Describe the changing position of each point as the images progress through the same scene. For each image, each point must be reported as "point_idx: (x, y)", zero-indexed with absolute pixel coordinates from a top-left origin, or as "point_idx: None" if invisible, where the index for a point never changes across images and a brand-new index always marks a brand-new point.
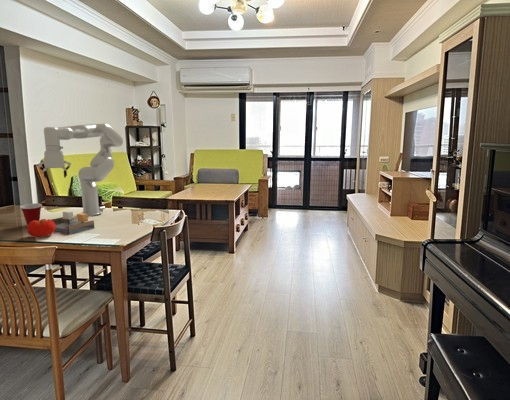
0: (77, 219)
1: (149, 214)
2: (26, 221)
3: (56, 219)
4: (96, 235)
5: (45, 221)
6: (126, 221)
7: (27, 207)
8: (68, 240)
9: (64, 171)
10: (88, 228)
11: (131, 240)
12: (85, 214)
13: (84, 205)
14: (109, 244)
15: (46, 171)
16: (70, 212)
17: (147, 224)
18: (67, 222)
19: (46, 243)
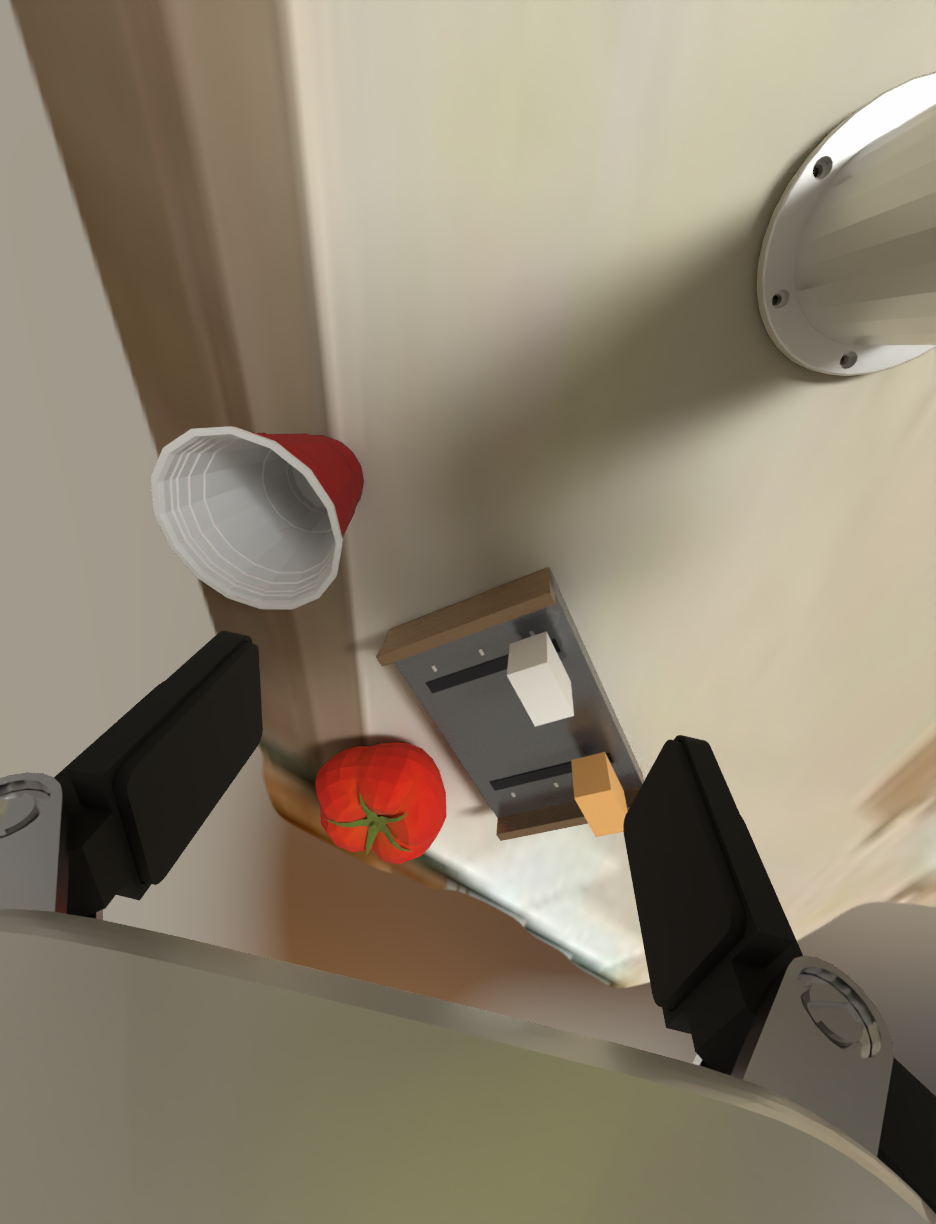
0: (572, 769)
1: None
2: (274, 500)
3: (466, 633)
4: (598, 872)
5: (392, 861)
6: (884, 739)
7: (213, 444)
8: (485, 868)
9: (678, 1009)
10: None
11: None
12: (616, 832)
13: (855, 285)
14: (592, 964)
15: (129, 821)
16: (554, 719)
17: (908, 857)
18: None
19: None
